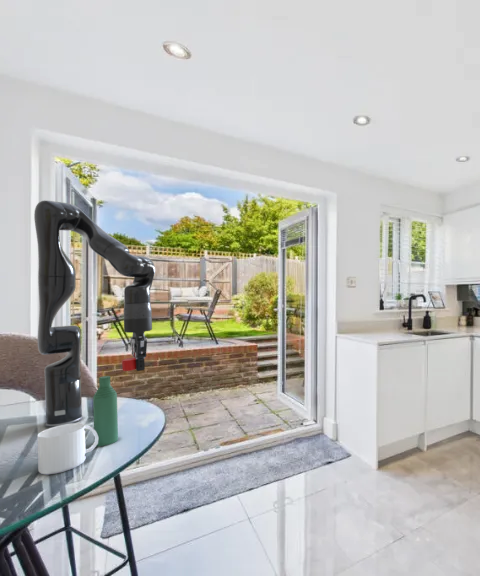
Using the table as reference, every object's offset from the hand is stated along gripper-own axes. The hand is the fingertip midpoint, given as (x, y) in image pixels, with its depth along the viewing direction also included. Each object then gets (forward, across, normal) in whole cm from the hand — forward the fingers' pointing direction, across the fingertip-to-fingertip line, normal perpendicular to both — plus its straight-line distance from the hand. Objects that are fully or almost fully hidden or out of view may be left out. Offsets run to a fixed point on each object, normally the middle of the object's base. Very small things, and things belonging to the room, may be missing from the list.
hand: (139, 369), depth 114 cm
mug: (+20, -14, +18) cm, 30 cm away
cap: (0, 0, +2) cm, 2 cm away
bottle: (+19, -5, +9) cm, 22 cm away
